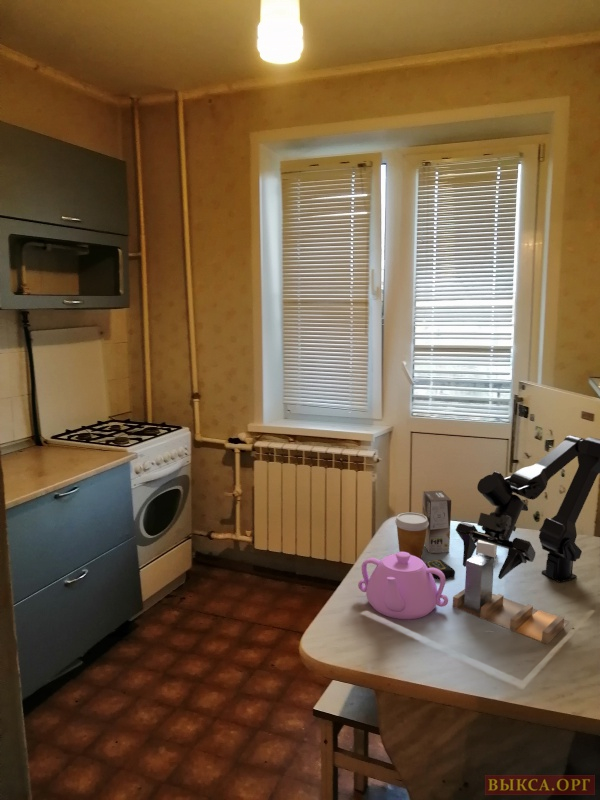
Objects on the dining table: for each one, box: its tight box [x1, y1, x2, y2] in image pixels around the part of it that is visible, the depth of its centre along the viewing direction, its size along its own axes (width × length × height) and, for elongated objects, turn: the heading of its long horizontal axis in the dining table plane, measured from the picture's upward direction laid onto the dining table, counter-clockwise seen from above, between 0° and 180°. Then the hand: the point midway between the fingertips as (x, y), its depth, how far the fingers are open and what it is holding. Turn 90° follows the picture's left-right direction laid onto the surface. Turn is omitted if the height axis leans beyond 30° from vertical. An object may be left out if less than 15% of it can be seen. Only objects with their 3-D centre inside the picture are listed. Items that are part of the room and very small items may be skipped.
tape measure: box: [425, 559, 456, 581], centre depth 163 cm, size 7×7×4 cm
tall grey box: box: [464, 553, 495, 613], centre depth 146 cm, size 6×4×12 cm, turn 136°
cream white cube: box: [475, 540, 498, 560], centre depth 176 cm, size 5×5×5 cm
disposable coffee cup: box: [394, 512, 429, 560], centre depth 174 cm, size 10×10×12 cm
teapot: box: [357, 551, 449, 620], centre depth 145 cm, size 22×22×14 cm
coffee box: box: [421, 490, 452, 554], centre depth 181 cm, size 9×6×16 cm
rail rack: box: [452, 588, 570, 645], centre depth 143 cm, size 12×23×4 cm, turn 46°
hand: (481, 571), depth 146 cm, fingers open, 9 cm apart
